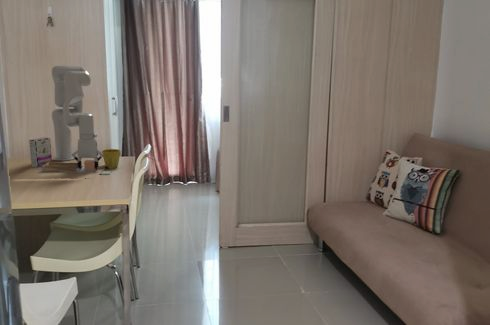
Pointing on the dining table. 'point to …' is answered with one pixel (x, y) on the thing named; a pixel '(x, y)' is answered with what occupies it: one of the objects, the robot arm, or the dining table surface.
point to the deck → (73, 171)
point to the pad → (105, 173)
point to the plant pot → (111, 157)
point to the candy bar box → (40, 152)
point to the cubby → (59, 167)
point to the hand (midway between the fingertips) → (88, 168)
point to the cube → (89, 165)
